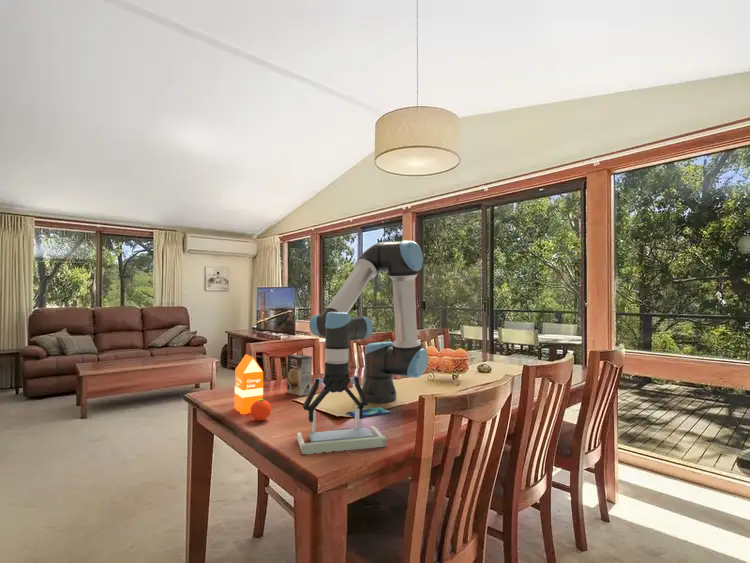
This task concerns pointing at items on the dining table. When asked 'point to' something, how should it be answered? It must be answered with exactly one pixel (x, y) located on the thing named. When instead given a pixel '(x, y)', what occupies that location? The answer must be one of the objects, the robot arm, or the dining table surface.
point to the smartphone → (371, 412)
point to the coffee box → (299, 374)
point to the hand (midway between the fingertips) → (335, 430)
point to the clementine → (260, 410)
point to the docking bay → (342, 443)
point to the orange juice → (248, 384)
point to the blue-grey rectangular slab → (340, 435)
